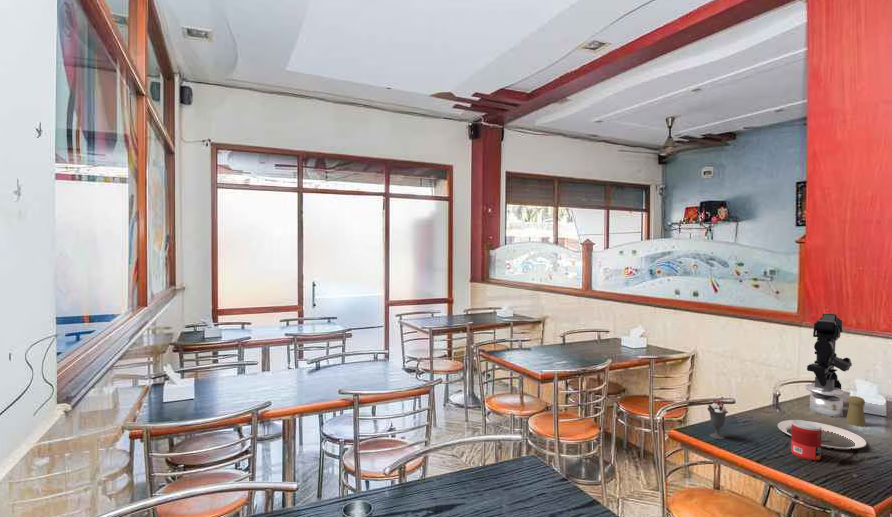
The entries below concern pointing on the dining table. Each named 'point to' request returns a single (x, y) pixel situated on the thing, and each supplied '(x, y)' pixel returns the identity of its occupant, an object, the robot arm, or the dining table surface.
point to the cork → (856, 411)
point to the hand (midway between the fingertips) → (824, 385)
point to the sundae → (717, 418)
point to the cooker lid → (825, 388)
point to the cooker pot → (826, 405)
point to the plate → (855, 438)
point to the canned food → (806, 440)
